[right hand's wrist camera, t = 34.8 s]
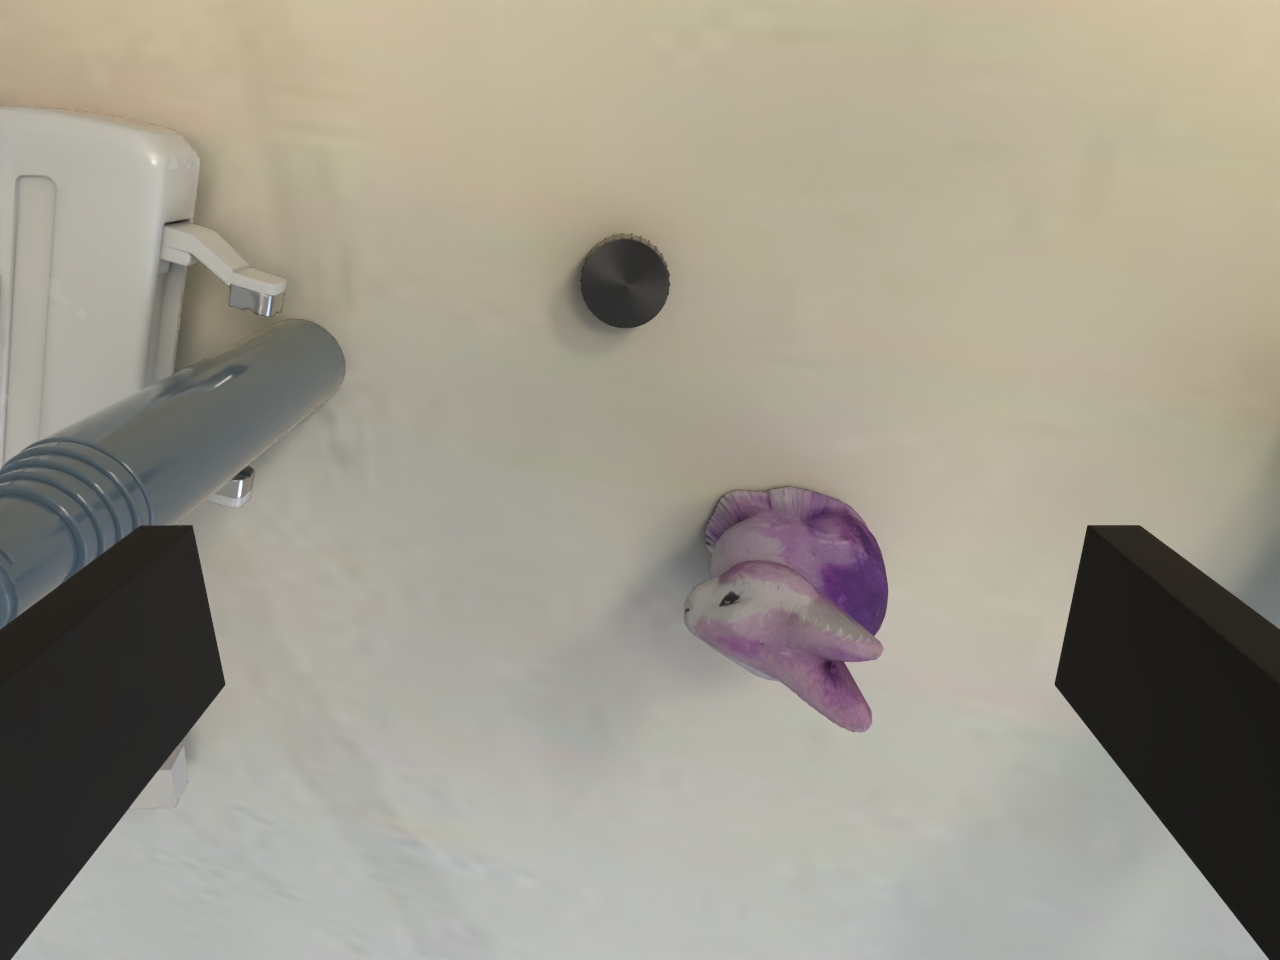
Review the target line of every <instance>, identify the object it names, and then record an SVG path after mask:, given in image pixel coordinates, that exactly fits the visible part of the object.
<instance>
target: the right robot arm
mask: <svg viewBox="0 0 1280 960" xmlns="http://www.w3.org/2000/svg"><path fill="white" fill-rule="evenodd" d="M224 686H225V680H224V675H223V671H222V666H221V661H220V656H219V651H218V646H217V642H216V637H215V632H214V627H213V622H212V617H211V613H210V608H209V603H208V598H207V593H206V588H205V583H204V579H203V574H202V569H201V564H200V559H199V554H198V550H197V545H196V540H195V535H194V530H193V525H140V526H139V527H137V528H136V529H135V530H133V531H132V532H131V533H129V534H128V535H127V536H125V537H124V538H123V539H121V540H120V541H119V542H117V543H116V544H115V545H113V546H112V547H111V548H109V549H108V550H107V551H105V552H104V553H102V554H101V555H100V556H98V557H97V558H96V559H94V560H93V561H92V562H90V563H89V564H88V565H86V566H85V567H84V568H82V569H81V570H80V571H78V572H77V573H76V574H74V575H73V576H72V577H70V578H69V579H68V580H66V581H65V582H63V583H62V584H61V585H59V586H58V587H57V588H55V589H54V590H53V591H51V592H50V593H49V594H47V595H46V596H45V597H43V598H42V599H41V600H39V601H38V602H37V603H35V604H34V605H33V606H31V607H30V608H29V609H27V610H26V611H24V612H23V613H22V614H20V615H19V616H18V617H16V618H15V619H14V620H12V621H11V622H10V623H8V624H7V625H6V626H4V627H3V628H2V629H0V960H11V959H12V957H13V956H14V955H15V953H16V952H17V951H18V950H19V948H20V947H21V946H22V944H23V943H24V942H25V941H26V939H27V938H28V937H29V935H30V934H31V933H32V932H33V930H34V929H35V928H36V927H37V925H38V924H39V923H40V921H41V920H42V919H43V918H44V916H45V915H46V914H47V912H48V911H49V910H50V909H51V907H52V906H53V905H54V903H55V902H56V901H57V900H58V898H59V897H60V896H61V895H62V893H63V892H64V891H65V889H66V888H67V887H68V886H69V884H70V883H71V882H72V880H73V879H74V878H75V877H76V875H77V874H78V873H79V871H80V870H81V869H82V868H83V866H84V865H85V864H86V862H87V861H88V860H89V859H90V857H91V856H92V855H93V854H94V852H95V851H96V850H97V848H98V847H99V846H100V845H101V843H102V842H103V841H104V839H105V838H106V837H107V836H108V834H109V833H110V832H111V830H112V829H113V828H114V827H115V825H116V824H117V823H118V822H119V820H120V819H121V818H122V816H123V815H124V814H125V813H126V811H127V810H128V809H129V807H130V806H131V805H132V804H133V802H134V801H135V800H136V798H137V797H138V796H139V795H140V793H141V792H142V791H143V790H144V788H145V787H146V786H147V784H148V783H149V782H150V781H151V779H152V778H153V777H154V775H155V774H156V773H157V772H158V770H159V769H160V768H161V766H162V765H163V764H164V763H165V761H166V760H167V759H168V758H169V756H170V755H171V754H172V752H173V751H174V750H175V749H176V747H177V746H178V745H179V743H180V742H181V741H182V740H183V738H184V737H185V736H186V734H187V733H188V732H189V731H190V729H191V728H192V727H193V726H194V724H195V723H196V722H197V720H198V719H199V718H200V717H201V715H202V714H203V713H204V711H205V710H206V709H207V708H208V706H209V705H210V704H211V702H212V701H213V700H214V699H215V697H216V696H217V695H218V694H219V692H220V691H221V690H222V688H223V687H224ZM1055 686H1056V687H1057V688H1058V690H1059V691H1060V692H1061V694H1062V695H1063V696H1064V697H1065V699H1066V700H1067V701H1068V702H1069V704H1070V705H1071V706H1072V708H1073V709H1074V710H1075V711H1076V713H1077V714H1078V715H1079V717H1080V718H1081V719H1082V720H1083V722H1084V723H1085V724H1086V726H1087V727H1088V728H1089V729H1090V731H1091V732H1092V733H1093V734H1094V736H1095V737H1096V738H1097V740H1098V741H1099V742H1100V743H1101V745H1102V746H1103V747H1104V749H1105V750H1106V751H1107V752H1108V754H1109V755H1110V756H1111V758H1112V759H1113V760H1114V761H1115V763H1116V764H1117V765H1118V766H1119V768H1120V769H1121V770H1122V772H1123V773H1124V774H1125V775H1126V777H1127V778H1128V779H1129V781H1130V782H1131V783H1132V784H1133V786H1134V787H1135V788H1136V790H1137V791H1138V792H1139V793H1140V795H1141V796H1142V797H1143V798H1144V800H1145V801H1146V802H1147V804H1148V805H1149V806H1150V807H1151V809H1152V810H1153V811H1154V813H1155V814H1156V815H1157V816H1158V818H1159V819H1160V820H1161V822H1162V823H1163V824H1164V825H1165V827H1166V828H1167V829H1168V830H1169V832H1170V833H1171V834H1172V836H1173V837H1174V838H1175V839H1176V841H1177V842H1178V843H1179V845H1180V846H1181V847H1182V848H1183V850H1184V851H1185V852H1186V854H1187V855H1188V856H1189V857H1190V859H1191V860H1192V861H1193V862H1194V864H1195V865H1196V866H1197V868H1198V869H1199V870H1200V871H1201V873H1202V874H1203V875H1204V877H1205V878H1206V879H1207V880H1208V882H1209V883H1210V884H1211V886H1212V887H1213V888H1214V889H1215V891H1216V892H1217V893H1218V895H1219V896H1220V897H1221V898H1222V900H1223V901H1224V902H1225V903H1226V905H1227V906H1228V907H1229V909H1230V910H1231V911H1232V912H1233V914H1234V915H1235V916H1236V918H1237V919H1238V920H1239V921H1240V923H1241V924H1242V925H1243V927H1244V928H1245V929H1246V930H1247V932H1248V933H1249V934H1250V935H1251V937H1252V938H1253V939H1254V941H1255V942H1256V943H1257V944H1258V946H1259V947H1260V948H1261V950H1262V951H1263V952H1264V953H1265V955H1266V956H1267V957H1268V959H1269V960H1280V629H1278V628H1277V627H1276V626H1274V625H1273V624H1272V623H1270V622H1269V621H1268V620H1266V619H1265V618H1264V617H1262V616H1261V615H1260V614H1258V613H1257V612H1256V611H1254V610H1253V609H1251V608H1250V607H1249V606H1247V605H1246V604H1245V603H1243V602H1242V601H1241V600H1239V599H1238V598H1237V597H1235V596H1234V595H1233V594H1231V593H1230V592H1229V591H1227V590H1226V589H1225V588H1223V587H1222V586H1221V585H1219V584H1218V583H1217V582H1215V581H1214V580H1212V579H1211V578H1210V577H1208V576H1207V575H1206V574H1204V573H1203V572H1202V571H1200V570H1199V569H1198V568H1196V567H1195V566H1194V565H1192V564H1191V563H1190V562H1188V561H1187V560H1186V559H1184V558H1183V557H1182V556H1180V555H1179V554H1178V553H1176V552H1175V551H1173V550H1172V549H1171V548H1169V547H1168V546H1167V545H1165V544H1164V543H1163V542H1161V541H1160V540H1159V539H1157V538H1156V537H1155V536H1153V535H1152V534H1151V533H1149V532H1148V531H1147V530H1145V529H1144V528H1143V527H1141V526H1140V525H1087V530H1086V535H1085V540H1084V545H1083V550H1082V554H1081V559H1080V564H1079V569H1078V574H1077V579H1076V583H1075V588H1074V593H1073V598H1072V603H1071V608H1070V612H1069V617H1068V622H1067V627H1066V632H1065V637H1064V642H1063V646H1062V651H1061V656H1060V661H1059V666H1058V671H1057V675H1056V680H1055Z"/></svg>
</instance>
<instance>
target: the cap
mask: <svg viewBox="0 0 1280 960" xmlns="http://www.w3.org/2000/svg"><path fill="white" fill-rule="evenodd" d="M669 276H670V274H669V271H668V270H667V263H666V261H665V262H664V259H663V255H662V253H660V252H659V251H658V250H657V247H656V246H653V245H652V244H651V243H650V241H649V240H648V241H647V240H645V239H643V238H642V237H641V236H640V237H638V236H634V235H633V234H631V235H623V233H622V235H616V236H614V235H613V236H612V237H610V238H608V239H606V238H605V239H604V241H602V242H601V243H600V244H597V245H596V247H595V248H594V249H593V251H592V250H591V252H590V254H589V257H588V258H586V260H585V266H584V267H583V269H582V278H581V281H580V282H581V287H582V289H581V291H582V293H583V297H584V300H585V302H586V304H587V306H588V308H589V309H590V310H591V312H592V313H593V314H594V315H595V316H596V317H597V318H598V319H600V320H601V321H603V322H604V323H606V324H608V325H611V326H614V327H619V328H632V327H637V326H640V325H643V324H645V323H647V322H648V321H650V320H651V319H653V318H654V317H655V316H656V315H657V314H658V313H659V312H660V311H661V309H662V307H663V306H664V304H665V303H666V299H667V296H668V295H669V286H670V282H669Z"/></svg>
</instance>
